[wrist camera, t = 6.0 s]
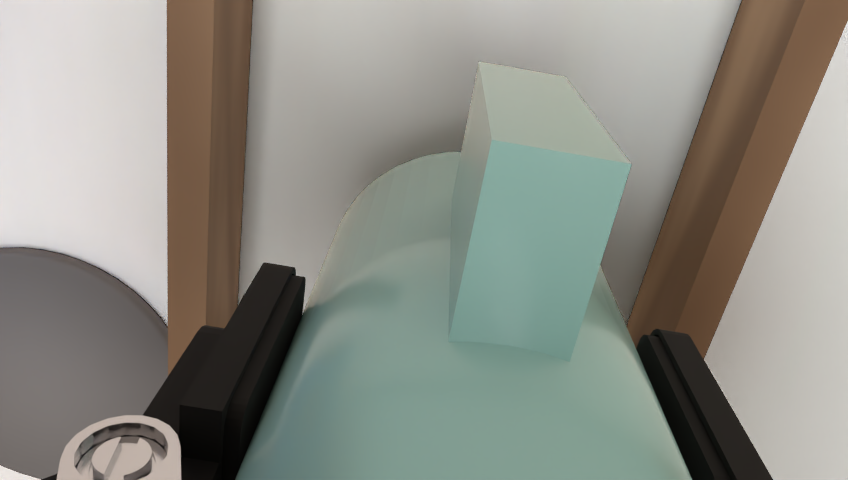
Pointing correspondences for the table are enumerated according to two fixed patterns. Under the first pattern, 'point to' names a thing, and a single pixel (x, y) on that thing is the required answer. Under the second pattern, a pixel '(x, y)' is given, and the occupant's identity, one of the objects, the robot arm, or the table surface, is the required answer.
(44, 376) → the coaster
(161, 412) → the robot arm
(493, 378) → the teal mug
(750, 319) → the table surface
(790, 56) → the holder
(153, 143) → the table surface
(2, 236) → the table surface
